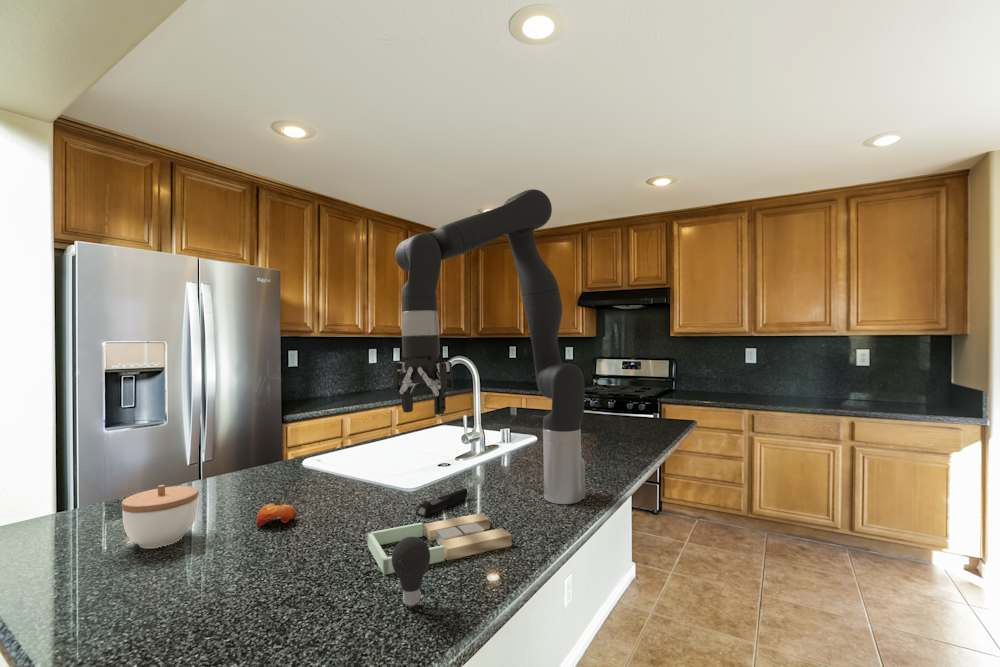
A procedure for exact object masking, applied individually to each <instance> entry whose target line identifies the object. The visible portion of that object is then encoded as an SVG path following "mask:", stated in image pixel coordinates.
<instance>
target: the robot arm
mask: <svg viewBox="0 0 1000 667" xmlns="http://www.w3.org/2000/svg"><path fill="white" fill-rule="evenodd" d="M552 207H553V206H552V202H551V200H550V198H549V197H548V196H547V194H545V193H544V192H543V191H542V190H540V189H534V188H533V189H526V190H524V191H521V192H520V193H517V194H515V195H513V196H512V197H510V198H507V200H506V201H504V203H503V205H501V206H498V207H496V208H493V209H490V210H486V211H484V212H480V213H477V214H474V215H470V216H467V217H464V218H461V219H458V220H455V221H452V222H450V223H447V224H444V225H442V226H441V227H439V228H437V229H435V230H432V231H430V232H429V231H428V232H426V233H424V232H423V233H417V234H415V235H413V236H411V237H408V238H406V239H404V240H402V241H401V242H400V243H399V244H398V245H397V247H396V249H395V253H394V255H395V256H394V257H395V258H394V259H395V261H396V264H397V265H398V267H400V269H402V270H403V271H405V272H408V275H407V276H408V277H407V281H406V283H405V284H404V285H403V287H402V289H401V290H402V291H401V306H402V307H401V308H402V309H401V310H402V311H401V312H402V315H401V341H402V342H401V343H402V344H401V345H402V346H401V347H402V348H401V349H402V357H403V358H405V361H397V362H393V370H392V371H393V377H392V378H393V379H392V380H393V381H392V382H393V384H392V388H393V391H394V392H396V391H397V392H398V393H399V394H400V395H401V408H402V411H403V413H412V412H413V411H414V404H413V403H414V399H413V393H412V392H413V390H414V388H415V386H417V385H418V384H423V385H426V386H427V387H428V388H430V389H431V391H432V393H433V395H434V396H433V405H434V406H433V408H434V415H437V416H440V415H443V414H445V411H446V410H447V409H446V405H447V404H446V395H447V394H448V393H451V392H454V378H453V367H452V362H451V361H445V362H439V356H440V355H441V353H440V352H441V350H440V346H441V344H440V326H439V325H440V324H439V323H440V322H439V317H438V302H437V301H438V300H437V288H438V282H439V278H440V273H441V272H440V271H441V266H442V262H443V261H444V260H447V259H450V258H451V259H452V258H455V257H459V256H461V255H464V254H467V253H468V252H469V253H470V252H471V251H474V250H475V249H477V248H480V247H483V246H484V245H487V244H488V243H491V242H492V241H495V240H497V239H499V238H502V237H504V236H505V235H506V237H507V240H508V243H509V246H510V248H511V249H510V250H511V252H512V256H513V261H514V265H515V269H516V274H517V278H518V283H519V287H520V292H521V299H522V303H523V308H524V312H525V317H526V320H527V326H528V331H529V337H530V342H531V346H532V352H533V355H532V356H533V363H534V364H533V366H534V372H535V381H536V386H537V389H538V391H539V393H541V395H542V396H543V397H545V398H546V399H551V410H550V412H549V413H548V414H546V415H544V417H543V419H542V442H543V443H542V444H543V445H542V447H543V448H542V450H543V455H542V456H543V499H544V500H545V501H547V502H549V503H552V504H556V505H557V504H558V505H572V504H577V503H579V502H581V501H582V500H585V499H586V471H585V470H586V468H585V467H586V466H585V465H586V463H585V459H584V458H582V435H581V433H582V431H581V429H582V428H581V424H582V421H583V418H584V413H585V393H586V392H585V389H586V388H585V387H586V386H585V378H584V374H583V372H582V370H581V369H580V368H579V367H578V366H577V365H575V364H572V363H566V362H565V363H563V361H562V357H561V354H560V348H559V340H558V339H559V333H560V332H559V331H560V326H561V323H562V322H561V321H562V316H563V304H562V302H563V301H562V298H561V291H560V288H559V283H558V281H557V278H556V276H555V275H554V273H553V271H552V270H551V269H550V267H549V266H548V265H547V263H546V262H545V261H544V260H543V258H542V256H541V254H540V253H539V251H538V248H537V244H536V239H535V234H534V231H536V230H538V229H540V228H542V227H544V226H545V225H546V224H547V223H548V222H549V221H550V218H551V216H552V212H553V209H552Z"/></svg>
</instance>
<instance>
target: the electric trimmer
mask: <svg viewBox="0 0 1000 667" xmlns="http://www.w3.org/2000/svg"><path fill="white" fill-rule="evenodd" d="M468 491H469V490H468V489H467V488H462V489H458V490H456V491H453V492H450V493H447V494H444V495H442V496H440V497H438V498H435V499H432V500H429V501H428V500H426V501H423V502H422V503H420V504H419V505H418V507H417V508H416V511H415V516H416V517H419V516H420V518H423V517H424V519H425V518H430V516H431V514H435V513H437V512H439V511H441V510H444V509H445V508H452V507H455V505H457V504H460V503H461V502H462V501H464V500H466V499H467V498H468V497H469V492H468ZM451 506H452V507H451Z"/></svg>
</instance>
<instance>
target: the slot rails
mask: <svg viewBox="0 0 1000 667" xmlns="http://www.w3.org/2000/svg"><path fill="white" fill-rule="evenodd" d="M490 520H491V519H490V517H488V516H486V515H485V514H484V513H482V512H479V513H474V514H470V515H469V514H468V515H465V516H464V515H463V516H459V517H454V518H449V519H443V520H438V521H433V522H428V523H422V524H423V536H425V538H426V539H427V540H428V541H430V542H433V541H436V530H441V529H446V528H451V527H456V528H457V529H458V526H461V525H466V524H471V523H477V524H478V525H480V526H481V527H482V528H483V529H484V532H480V533H475V534H471V535H466V536H461V537H457V538H452V539H447V540H443V541H440V545H443V546H444V557H445V559H446V560H447V561H452V560H455V559H460V558H464V557H468V556H472V555H473V556H474V555H477V554H482V553H485V552H490V551H494V550H499V549H503V548H507V547H512V540H513V539H512V534H511V533H510V532H508V531H507V530H505V529H504V528H502V527H500V528H495V529H490V527H491V524H490ZM485 530H486V531H485Z"/></svg>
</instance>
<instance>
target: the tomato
mask: <svg viewBox="0 0 1000 667" xmlns="http://www.w3.org/2000/svg"><path fill="white" fill-rule="evenodd" d="M275 518H281V519H280V521H281V522H282V523H284V524H286V523H287V522H289V521H290V520H291V519H295V518H297V511H296V509H295V508H294V507H293V506H292V505H289V504H283V503H282V501H281V499H280V498H277V499H276V501H275V500H274V502H273V503H268V504H266V505H264V506H262V508H260V509H259V511H258V512H257V515H256V520H255V523H256V524H255V525H256V526H257V529H260V530H263V528H262V526H264V525H265V524H267V523H269V521H274V519H275ZM276 521H277V522H278V521H279V519H277V520H276Z"/></svg>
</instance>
